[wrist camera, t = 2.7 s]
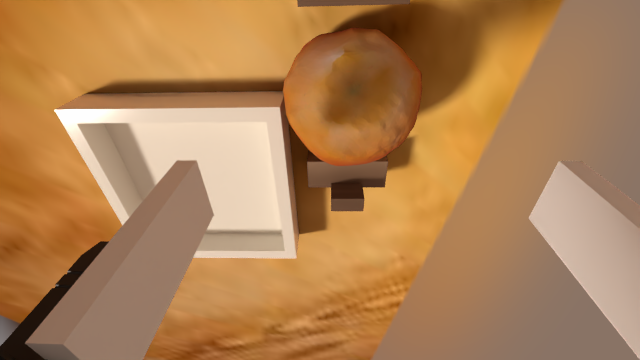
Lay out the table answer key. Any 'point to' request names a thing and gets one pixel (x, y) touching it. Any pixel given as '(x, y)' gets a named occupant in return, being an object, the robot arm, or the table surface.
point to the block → (355, 177)
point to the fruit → (352, 96)
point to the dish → (211, 154)
